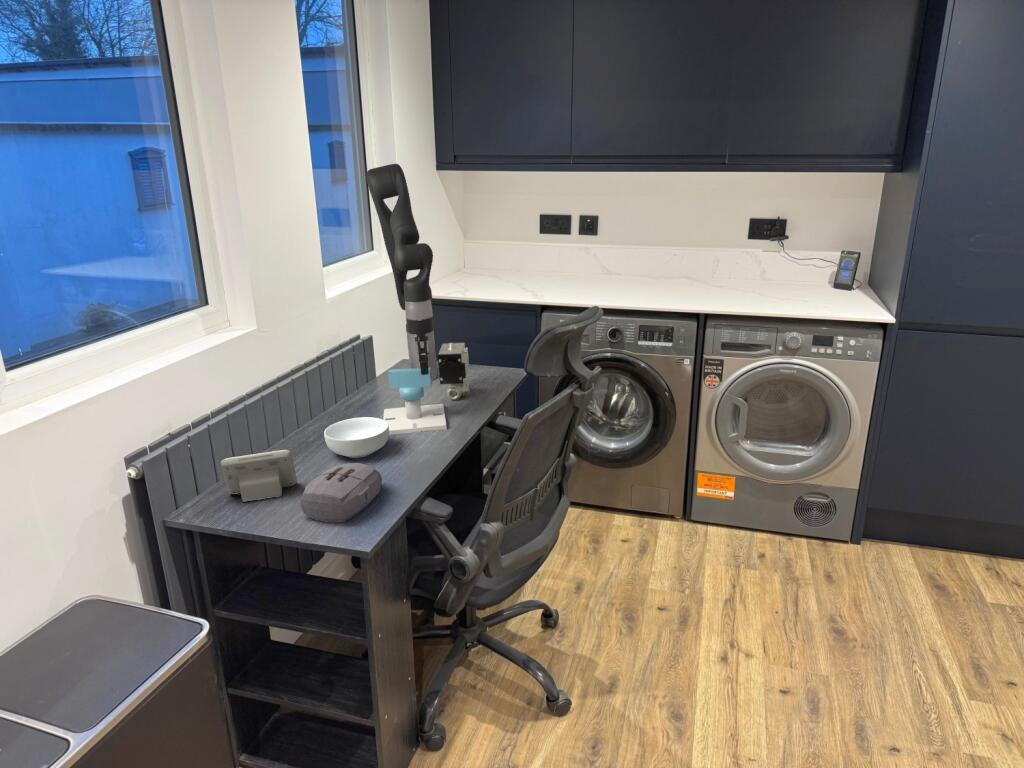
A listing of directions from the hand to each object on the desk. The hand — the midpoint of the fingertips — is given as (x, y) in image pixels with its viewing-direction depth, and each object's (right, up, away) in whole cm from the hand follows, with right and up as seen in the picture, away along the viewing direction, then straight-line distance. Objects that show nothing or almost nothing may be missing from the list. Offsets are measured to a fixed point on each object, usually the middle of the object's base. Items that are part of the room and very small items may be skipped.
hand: (424, 369), depth 206 cm
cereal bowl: (-16, -23, -15) cm, 31 cm away
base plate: (-3, -15, +4) cm, 16 cm away
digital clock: (-34, -30, -35) cm, 58 cm away
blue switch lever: (-4, -8, +2) cm, 9 cm away
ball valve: (+8, -8, +23) cm, 26 cm away
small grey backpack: (-13, -32, -42) cm, 54 cm away
